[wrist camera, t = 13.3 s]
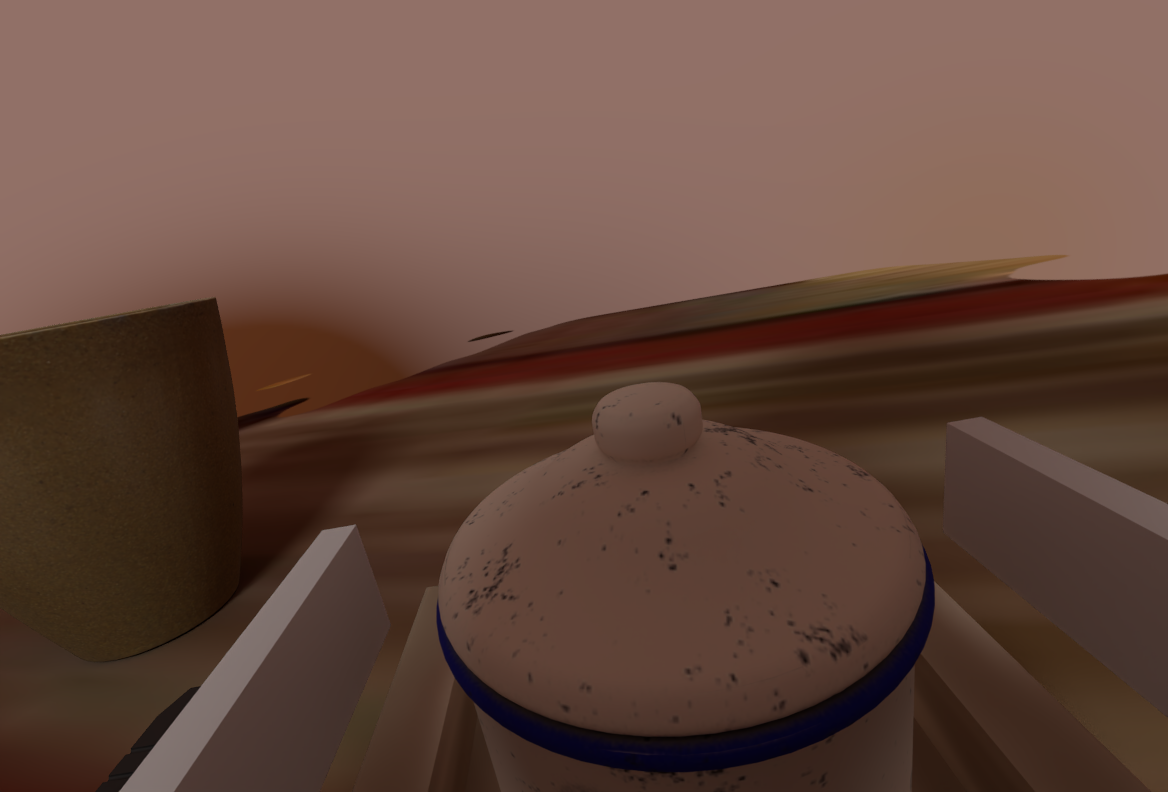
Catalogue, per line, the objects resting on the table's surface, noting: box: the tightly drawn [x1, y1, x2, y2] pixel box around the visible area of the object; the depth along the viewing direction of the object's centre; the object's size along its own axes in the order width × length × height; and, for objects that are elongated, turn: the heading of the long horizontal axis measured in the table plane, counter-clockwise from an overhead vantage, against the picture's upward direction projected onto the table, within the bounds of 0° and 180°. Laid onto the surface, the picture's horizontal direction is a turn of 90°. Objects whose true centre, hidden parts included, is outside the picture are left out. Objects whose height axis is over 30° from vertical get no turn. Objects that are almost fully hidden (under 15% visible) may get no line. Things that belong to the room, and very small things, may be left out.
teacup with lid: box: [436, 382, 935, 792], centre depth 10 cm, size 12×9×12 cm
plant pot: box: [0, 297, 242, 662], centre depth 28 cm, size 15×15×16 cm
